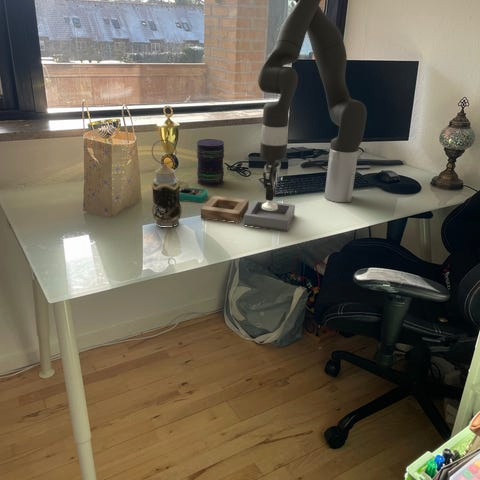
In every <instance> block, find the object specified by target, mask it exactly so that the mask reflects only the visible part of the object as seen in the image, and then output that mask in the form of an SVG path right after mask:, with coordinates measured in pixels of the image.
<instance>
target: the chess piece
mask: <svg viewBox="0 0 480 480" xmlns="http://www.w3.org/2000/svg"><path fill="white" fill-rule="evenodd" d="M268 184H270V183H268ZM266 201H267V202H266V203H264V204H262V209H264V210H267V211H274V210H277V209H278V206H277V205H276V204H275V203H276V202H275V203H274V199H273V200H272V201H269V200H266Z"/></svg>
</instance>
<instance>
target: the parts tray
mask: <svg viewBox="0 0 480 480" xmlns="http://www.w3.org/2000/svg"><path fill="white" fill-rule="evenodd" d="M266 202H267V200H258V199H253V202H252V203H251V204H250V206H249V208H248V210H247V212H246V213H245V214H244V216H243V226H244V225H247V226H246V227H248V226H253V227H252V228H255V227H259V228H258V229H263V228H265V229H264V230H270V229H271V230H272V231H278V232H279V231H280V232H285V233H286V232H287V233H288V230H289V228H290V225H291V224H292V221H293V219H294V216H295V210H296V204H291V203H282V202H274V201H273V202H274V203H275V204H276V205H277V206H278V209H277V210H274V211H267V210H264V209H262V204H264V203H266Z"/></svg>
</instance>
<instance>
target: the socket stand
mask: <svg viewBox="0 0 480 480" xmlns="http://www.w3.org/2000/svg"><path fill="white" fill-rule="evenodd" d="M249 203H250V200H249V199H243V198H234V197H227V196H219V195H212V197H211V198H209V199H208V201H207V202H206V203H205V204H204V205H203V206H201V208H200V218H201V219H205V218H209V219H208V220H213V219H217V220H216V221H220V220H225V221H224V222H227V221H234V222H233V223H235V222H239V221H240V222H241V220H242V219H243V218H244V214H245V213H246V212H247V210H248V209H249V207H250V206H249V205H250V204H249ZM241 218H242V219H241ZM240 222H239V223H240Z"/></svg>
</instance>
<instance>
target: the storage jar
mask: <svg viewBox="0 0 480 480" xmlns="http://www.w3.org/2000/svg"><path fill="white" fill-rule="evenodd" d="M224 153H225V142H224V141H223V140H220V139H217V138H216V139H215V138H214V139H213V138H207V139H206V138H205V139H199V140H197V141H196V157H197V172H196V176H197V183H198V184H199V185H201V186H204V187H218V186H221V185H223V184H224V176H225V173H224V171H225V170H224V169H225V168H224V158H225V157H224V156H225V154H224Z"/></svg>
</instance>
